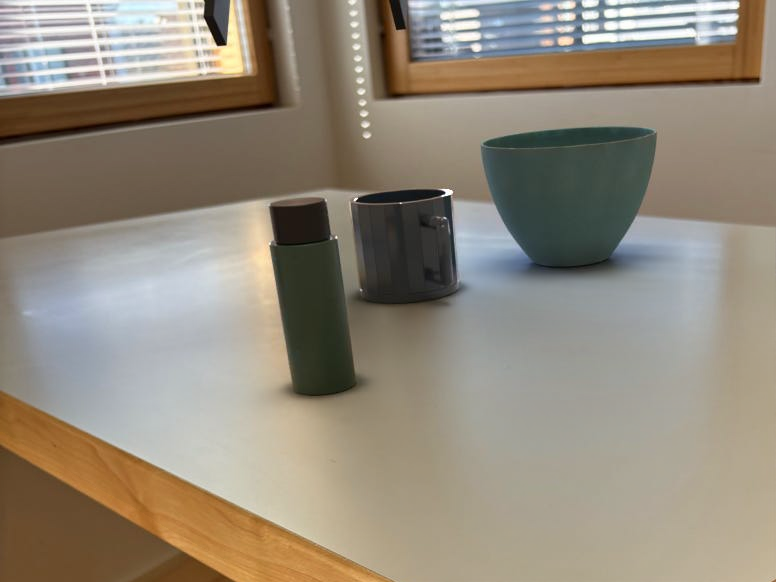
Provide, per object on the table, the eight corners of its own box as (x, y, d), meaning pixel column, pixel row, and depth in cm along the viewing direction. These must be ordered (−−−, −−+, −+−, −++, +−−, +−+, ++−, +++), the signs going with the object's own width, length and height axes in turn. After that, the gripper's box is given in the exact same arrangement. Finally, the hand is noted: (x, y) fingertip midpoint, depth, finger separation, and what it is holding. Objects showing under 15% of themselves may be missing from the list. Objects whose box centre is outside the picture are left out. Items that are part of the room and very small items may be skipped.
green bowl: (675, 267, 106) (678, 134, 99) (499, 284, 104) (492, 151, 98) (631, 238, 121) (632, 122, 115) (478, 252, 120) (471, 136, 114)
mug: (344, 292, 106) (332, 198, 102) (429, 276, 110) (421, 185, 106) (405, 314, 96) (394, 211, 91) (496, 295, 100) (490, 196, 96)
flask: (283, 385, 79) (252, 203, 72) (340, 372, 81) (315, 194, 74) (307, 399, 75) (277, 209, 69) (366, 385, 77) (343, 199, 71)
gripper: (484, -175, 82) (481, 49, 77) (183, -141, 85) (162, 76, 80) (472, -278, 75) (469, -39, 70) (144, -237, 77) (118, -5, 73)
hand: (305, 23), depth 75 cm, fingers open, 13 cm apart
